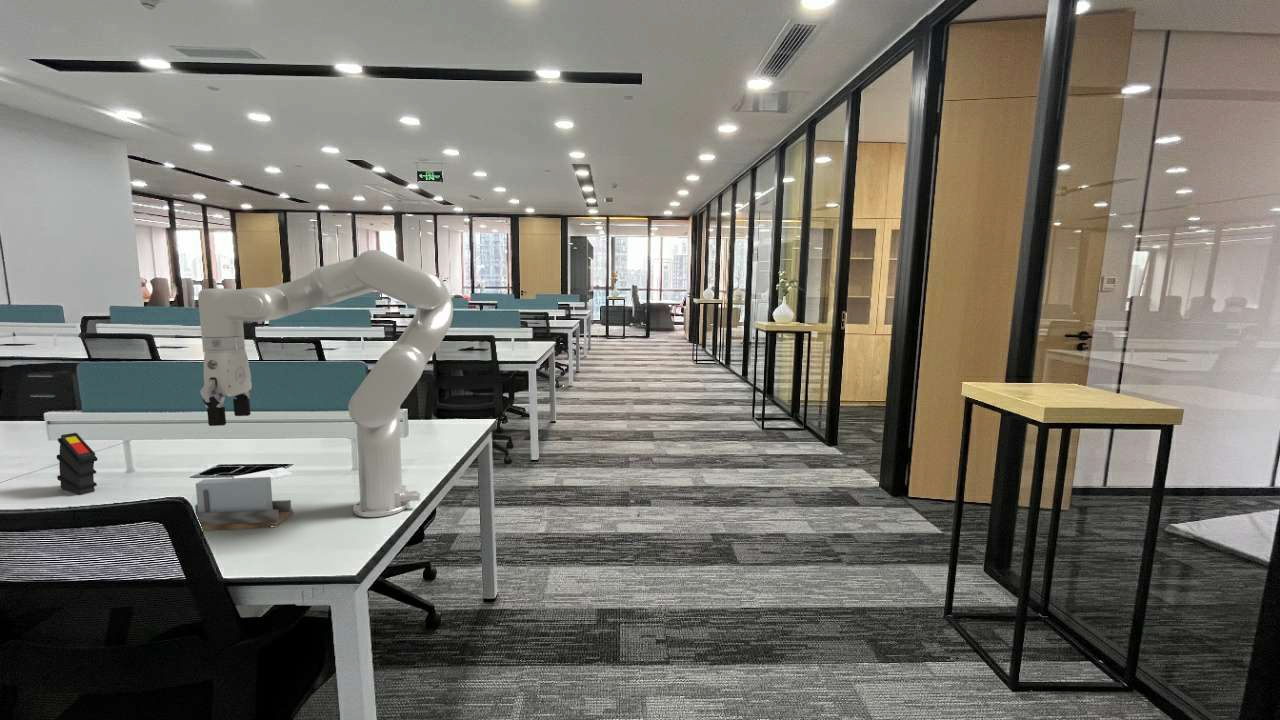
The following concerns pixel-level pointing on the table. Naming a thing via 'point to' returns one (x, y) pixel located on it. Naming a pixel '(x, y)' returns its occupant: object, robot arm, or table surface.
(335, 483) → the table surface
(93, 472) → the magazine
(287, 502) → the track base
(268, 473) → the external hard drive
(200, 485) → the door panel
